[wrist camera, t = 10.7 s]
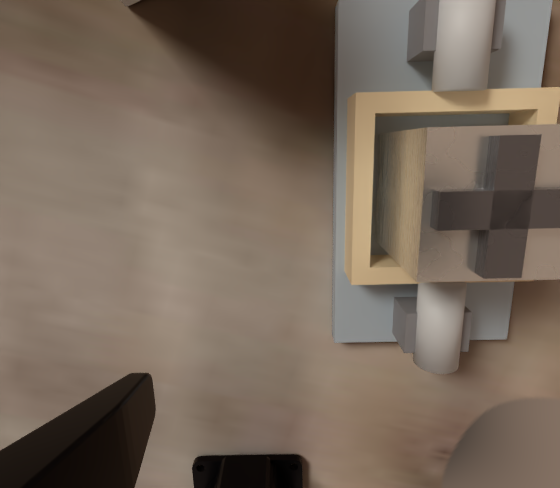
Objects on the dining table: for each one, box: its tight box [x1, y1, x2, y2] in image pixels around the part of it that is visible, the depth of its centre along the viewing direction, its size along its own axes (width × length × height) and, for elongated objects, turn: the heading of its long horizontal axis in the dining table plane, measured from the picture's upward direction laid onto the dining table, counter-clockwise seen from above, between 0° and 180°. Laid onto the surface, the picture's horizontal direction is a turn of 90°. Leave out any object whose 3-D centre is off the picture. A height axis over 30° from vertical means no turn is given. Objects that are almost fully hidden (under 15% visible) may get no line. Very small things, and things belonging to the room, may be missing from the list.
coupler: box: [375, 124, 560, 282], centre depth 15 cm, size 5×5×7 cm
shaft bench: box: [332, 0, 560, 374], centre depth 17 cm, size 16×9×4 cm, turn 1°
